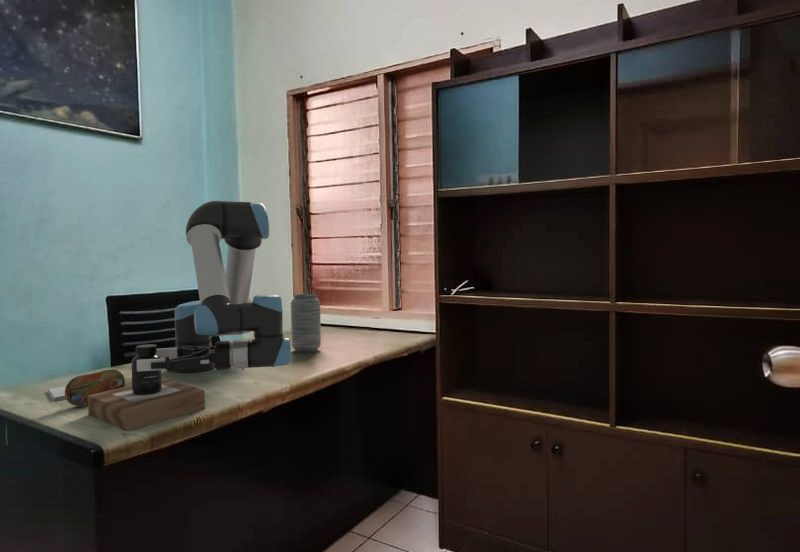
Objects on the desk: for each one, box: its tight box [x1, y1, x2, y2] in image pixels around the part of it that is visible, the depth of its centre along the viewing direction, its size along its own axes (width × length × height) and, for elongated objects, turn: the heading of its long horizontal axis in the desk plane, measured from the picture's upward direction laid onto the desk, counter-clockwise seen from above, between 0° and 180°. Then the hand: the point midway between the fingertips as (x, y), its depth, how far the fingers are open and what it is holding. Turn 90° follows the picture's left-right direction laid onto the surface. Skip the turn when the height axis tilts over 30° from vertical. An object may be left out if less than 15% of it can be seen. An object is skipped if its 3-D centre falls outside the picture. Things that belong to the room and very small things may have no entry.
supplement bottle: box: [131, 343, 163, 395], centre depth 130 cm, size 7×7×12 cm
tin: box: [65, 369, 126, 408], centre depth 138 cm, size 15×3×8 cm, turn 149°
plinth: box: [87, 378, 206, 432], centre depth 130 cm, size 20×20×5 cm
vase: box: [290, 293, 322, 354], centre depth 203 cm, size 12×12×23 cm
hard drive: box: [47, 385, 67, 402], centre depth 147 cm, size 2×8×12 cm
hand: (144, 359), depth 129 cm, fingers open, 13 cm apart
